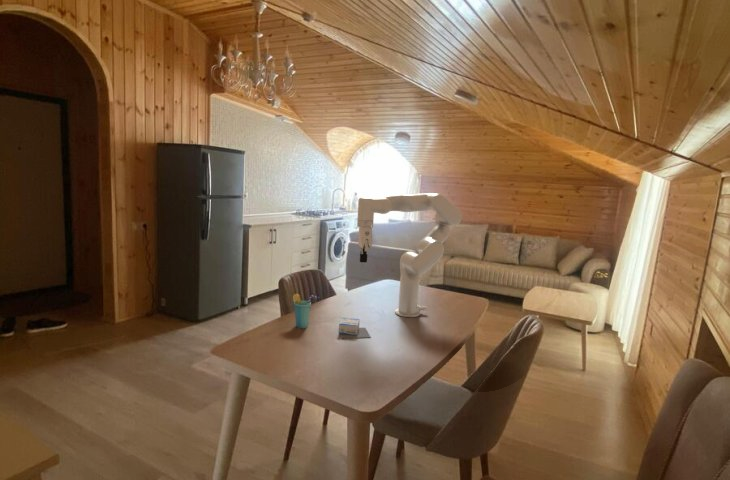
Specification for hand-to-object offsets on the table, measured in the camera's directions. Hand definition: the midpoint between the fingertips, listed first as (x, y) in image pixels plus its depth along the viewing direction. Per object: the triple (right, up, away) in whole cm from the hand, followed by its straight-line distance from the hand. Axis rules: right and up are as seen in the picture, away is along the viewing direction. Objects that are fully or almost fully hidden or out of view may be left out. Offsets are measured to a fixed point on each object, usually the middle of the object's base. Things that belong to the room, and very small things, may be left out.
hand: (363, 261), depth 187 cm
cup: (-26, -28, -13) cm, 41 cm away
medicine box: (-6, -26, -13) cm, 30 cm away
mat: (-4, -30, -18) cm, 35 cm away
